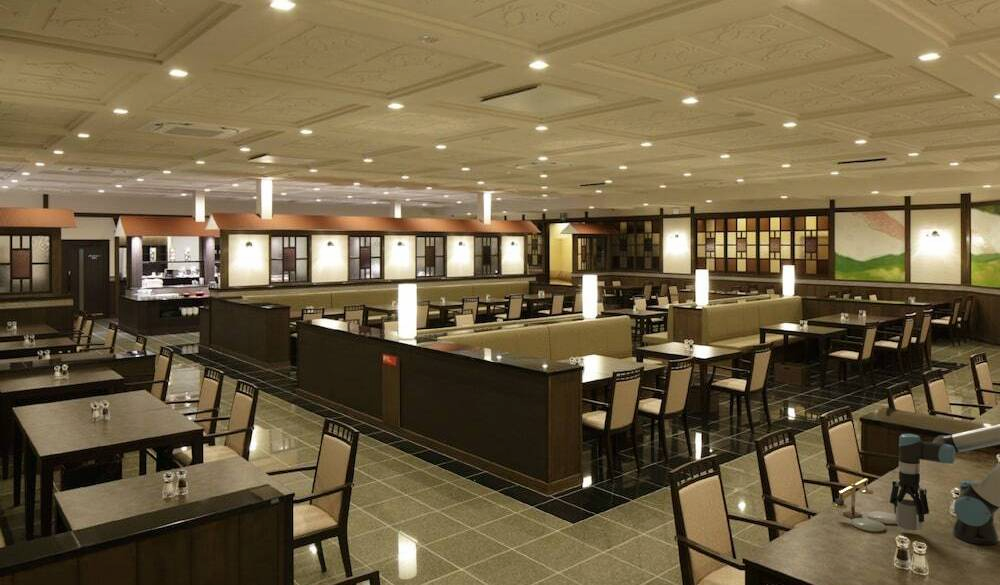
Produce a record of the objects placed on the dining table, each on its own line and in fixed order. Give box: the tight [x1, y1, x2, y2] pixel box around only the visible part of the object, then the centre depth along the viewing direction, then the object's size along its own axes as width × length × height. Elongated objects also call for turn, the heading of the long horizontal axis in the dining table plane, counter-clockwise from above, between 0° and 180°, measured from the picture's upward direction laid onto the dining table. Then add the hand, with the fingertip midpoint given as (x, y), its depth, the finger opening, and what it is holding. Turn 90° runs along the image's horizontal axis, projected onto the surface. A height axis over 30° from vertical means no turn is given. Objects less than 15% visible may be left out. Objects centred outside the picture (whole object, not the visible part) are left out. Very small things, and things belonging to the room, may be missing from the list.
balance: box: [832, 477, 875, 520], centre depth 302 cm, size 22×6×16 cm, turn 113°
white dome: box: [867, 510, 897, 525], centre depth 299 cm, size 13×13×1 cm
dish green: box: [850, 517, 886, 533], centre depth 291 cm, size 13×13×1 cm
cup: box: [896, 498, 918, 531], centre depth 284 cm, size 8×8×10 cm
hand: (908, 525), depth 284 cm, fingers closed on cup, 8 cm apart
